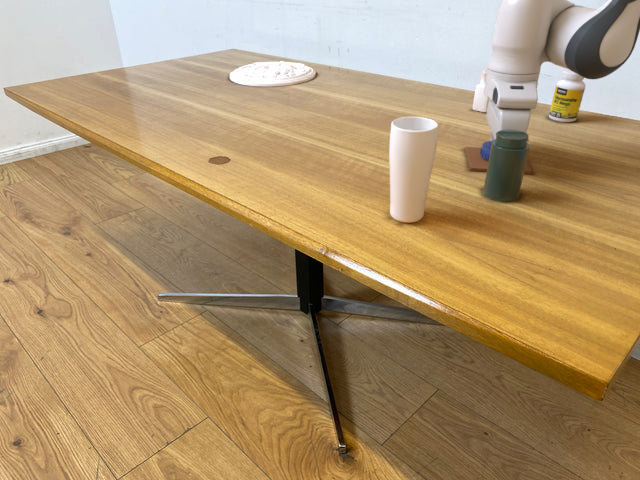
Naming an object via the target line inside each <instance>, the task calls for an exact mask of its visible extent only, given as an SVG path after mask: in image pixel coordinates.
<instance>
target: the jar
mask: <svg viewBox="0 0 640 480" xmlns="http://www.w3.org/2000/svg"><path fill="white" fill-rule="evenodd" d="M529 138H530V135H529V134H528V133H527V132H526V133H525V132H522V131H519V130H511V129H506V130H500V131H498V132H497V133H496V139H495V140H493V141H492V145H491V150H490V156H489V162H488V167H487V171H486V172H485V173H486V174H485V179H484V185H483V190H482V193H483V195H484V197H486V198H488V199H490V200H492V201H497V202H501V203H502V202H503V203H509V202H514V201H516V200H518V199H519V197H520V193H521V190H522V189H521V188H522V184H523V179H524V174H525V173H524V171H525V166H526V162H528V157H529V153H530V149H531V145H530V143H529V141H530V140H529Z"/></svg>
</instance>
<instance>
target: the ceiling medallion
mask: <svg viewBox="0 0 640 480" xmlns="http://www.w3.org/2000/svg"><path fill="white" fill-rule="evenodd" d="M316 73H317V72H316V70H315V69H313V68H312V67H310V66H308V65H306V64H304V63H302V62H300V63H299V62H292V61H284V60H280V61H264V62H263V61H257V62H253V63H250V64H245V65H242V66H239V67H237V68H235V69H234V70H233V71H231V72H230V73H229V80H230V81H232V82H233V83H236V84H239V85H242V86H243V85H244V86H250V87H284V86H291V85H299V84H302V83H306V82H309V81H311V80H313V79H314V78H315V77H316Z"/></svg>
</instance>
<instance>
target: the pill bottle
mask: <svg viewBox="0 0 640 480" xmlns="http://www.w3.org/2000/svg"><path fill="white" fill-rule="evenodd" d="M561 78H562V79H560V80H558V81H557V83H556V85H555V89H554V93H553V96H552V101H551V105H550V108H549V113H548V117H549V119H550V120H552V121H555V122H560V123H572V122H575V121H576V120H577V119H578V115H579V112H580V108H581V104H582V101H583V97H584V95H585V94H584V93H585V91H586V83H585V82H584V81H583V80H584V79H585V78H584V77H582V76H580V75H578V74H576V73H574V72H572V71H571V70H569V69H563V70H562V74H561Z"/></svg>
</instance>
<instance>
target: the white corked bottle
mask: <svg viewBox="0 0 640 480" xmlns="http://www.w3.org/2000/svg"><path fill="white" fill-rule="evenodd" d="M486 75H487V69H485V70H482V71H481V73H480V83H478V84H476V86H475V90H474V96H473V102H472V110H473V111H477V112H481V113H487V108H488V103H489V97H487V96H485V95H484V87H485V81H486Z"/></svg>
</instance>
